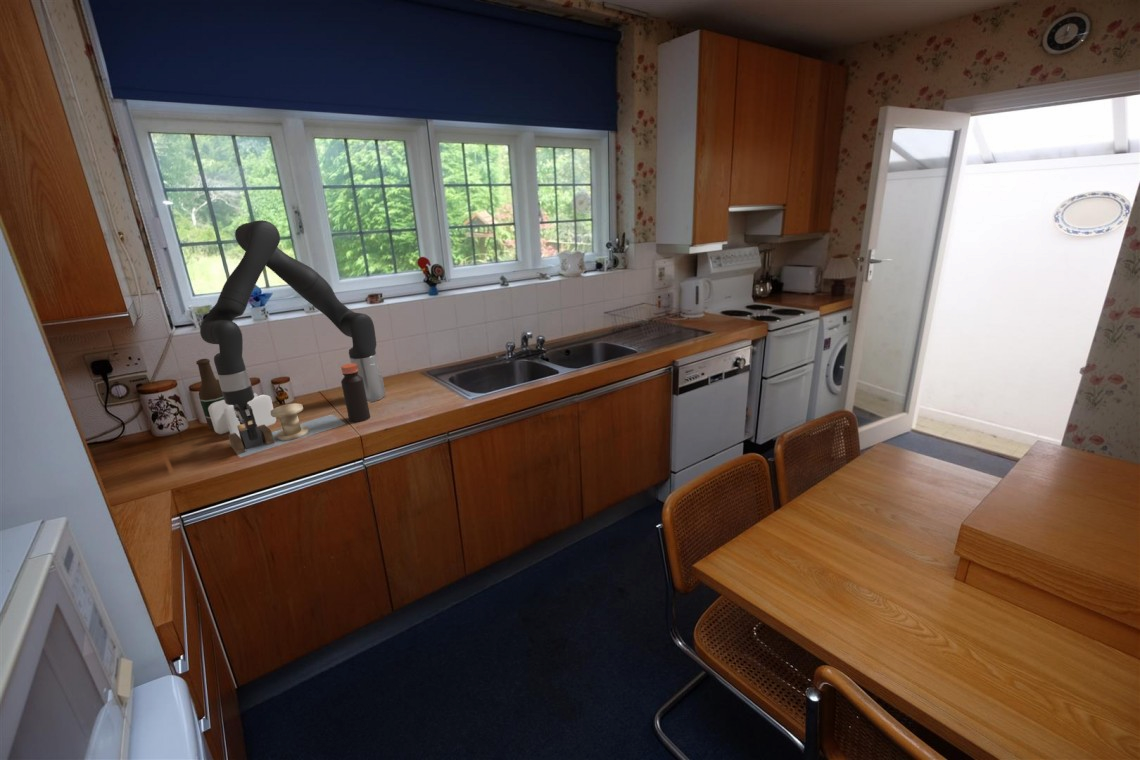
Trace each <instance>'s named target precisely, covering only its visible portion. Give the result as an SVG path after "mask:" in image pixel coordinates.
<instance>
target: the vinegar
mask: <svg viewBox="0 0 1140 760" xmlns="http://www.w3.org/2000/svg"><path fill="white" fill-rule="evenodd" d="M340 368H341V373H342V375H343V378H342V379H341V381H340V383H341V388H342V389H341V390H342V392H343V398H344V401H345V406H346V411H347V415H348V420H349V422H350V423H355V424H357V423H362V422H366V421H368V420H369V419H371V413H370V407H369V404H368V402H369V401H367V397H366V392H365V387H364V382H363V378H362V377H361V376H359V375H358V367H357V364H354V363H351V362H350V363H347V364H346V363H345V364H343V365H341V366H340Z"/></svg>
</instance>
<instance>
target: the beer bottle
mask: <svg viewBox="0 0 1140 760" xmlns="http://www.w3.org/2000/svg"><path fill="white" fill-rule="evenodd" d="M210 362H211V360H210V359H208V358H201V359H197V360H196V362H195V363H196V365H197V366H198V367H197V368H198V371H199V372H198V373H199V376H200V381H201V382H200V383H201V385H200V387H199V390H198V398H199V401H200V405H201V408H202V411H203V414H204V417H205V420H206V423H207V426H208V428H209V430H211V429H212V431H215V430H214V427H213V424H212V420H211V417H210V414H209V411H208V407H209V406H210V405H211V404H212V403H214V402H218V401H221V400H224V397H223V394H222V390H221V387H220V383H219V380H218V379H217V378H216V377H215V373H214V371H213V369H212V366H211V363H210ZM217 380H218V381H217Z"/></svg>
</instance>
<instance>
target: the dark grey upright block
mask: <svg viewBox="0 0 1140 760" xmlns="http://www.w3.org/2000/svg"><path fill="white" fill-rule="evenodd" d="M250 424H252V422H249V423H248V425H250ZM237 427H238V430H239V434H240V437H239V438H240V439H241V440H242V443H243V446H244V447H245V449H249V448H253V447H256V446H259V445H263V443H262V440H261V436H260V433H259V429H258V426H257V427H255V428H256V432H257V436H258V439H256V440H252V441H250V440H249V437H248V433H247V430H246V429H245V425H244V424H241V425H238V426H237Z"/></svg>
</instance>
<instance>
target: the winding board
mask: <svg viewBox="0 0 1140 760" xmlns="http://www.w3.org/2000/svg"><path fill="white" fill-rule="evenodd" d="M345 425H347V423H345V422H344V421H343V420H341V419H340V418H339V417H337V416H336V415H334V414H329V415H325V416H320V417H318V418H315V419H314V418H313V419H311V420H308V421H304V422H301V423H300V426H306V427H308V430H309V432H308V434H307V435H305V436H303V437H301V438H298V439H295V440H290V441H280V440H278V439H277V434H278V433H279V432H280V431H282V430H283V429H282V428H281V429H278V430H275V431H271V432H272V436H273V439H274V443H273V444H269V445H267V444H266V443H265V442H264V441H263V440H262V439H261V440H262V443H263V445H259V446H256V447H253V448H249V449H245V447H244V450H245V452H244V453H241V454H237V453H236V455H237V456H238V457H239V459H240V458H243V457H247V456H250V455H254V454H256V453H260V452H263V451H267V450H268V449H272V448H275V447H278V446H281V445H284V444H287V443H292V442H294V441H297V440H300V439H304V438H306V437H310V436H313V435H316V434H319V433H323V432H326V431H329V430H332V429H335V428H339V427H342V426H345Z"/></svg>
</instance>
